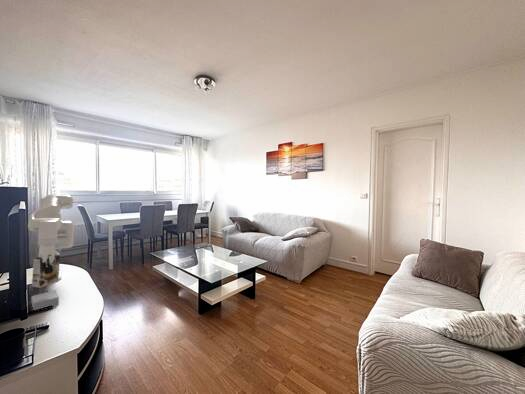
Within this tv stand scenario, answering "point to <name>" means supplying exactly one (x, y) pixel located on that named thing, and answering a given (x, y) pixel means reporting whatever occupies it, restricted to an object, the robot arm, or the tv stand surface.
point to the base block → (45, 299)
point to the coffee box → (39, 272)
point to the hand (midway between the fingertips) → (46, 271)
